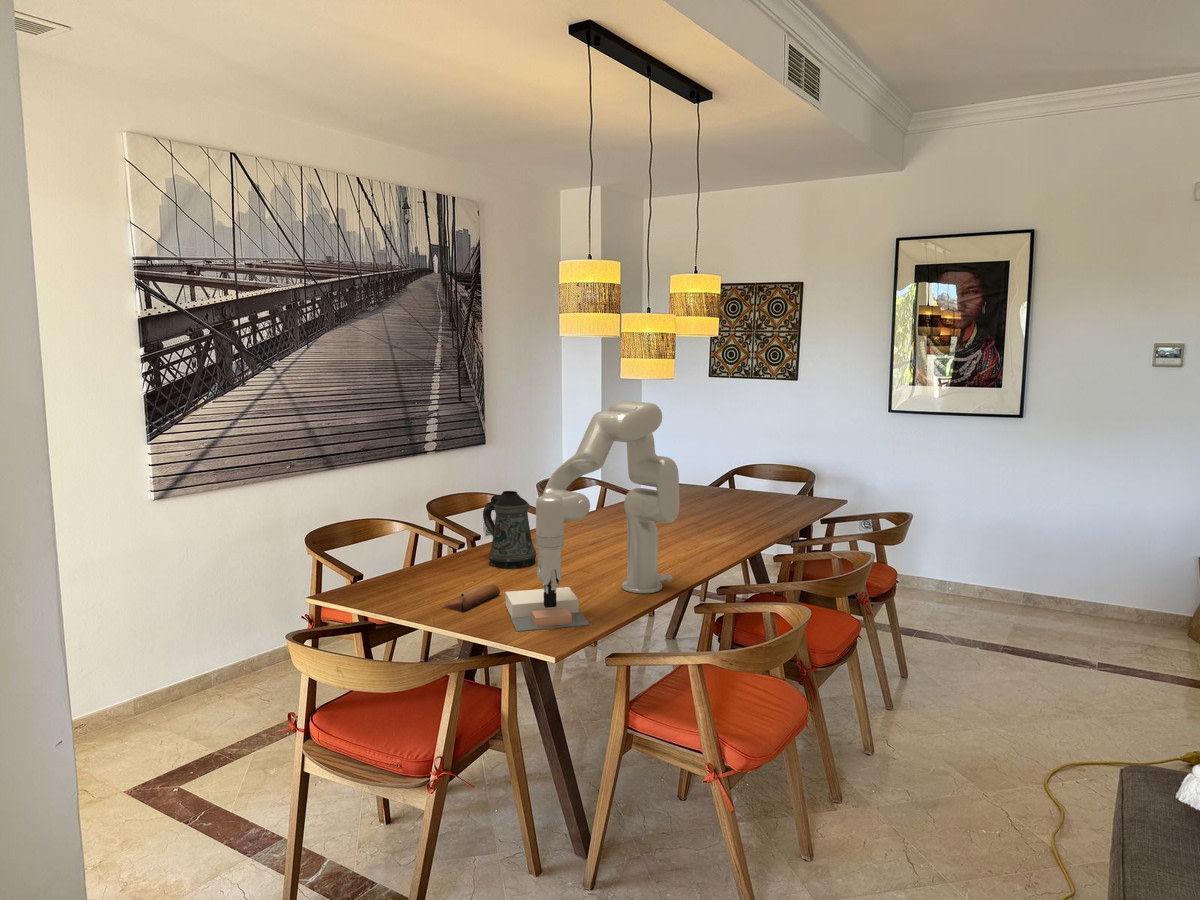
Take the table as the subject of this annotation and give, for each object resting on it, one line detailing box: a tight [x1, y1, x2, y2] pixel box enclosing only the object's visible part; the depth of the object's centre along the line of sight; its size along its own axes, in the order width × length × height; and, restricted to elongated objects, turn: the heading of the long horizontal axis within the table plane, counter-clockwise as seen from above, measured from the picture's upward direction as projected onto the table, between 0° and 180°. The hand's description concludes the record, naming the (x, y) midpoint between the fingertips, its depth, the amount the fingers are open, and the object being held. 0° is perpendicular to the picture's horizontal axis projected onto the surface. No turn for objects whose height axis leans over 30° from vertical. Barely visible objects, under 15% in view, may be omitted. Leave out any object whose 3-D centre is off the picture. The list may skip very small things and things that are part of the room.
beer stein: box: [482, 490, 537, 570], centre depth 281 cm, size 16×19×25 cm
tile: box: [531, 608, 572, 627], centre depth 222 cm, size 10×6×2 cm, turn 106°
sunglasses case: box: [442, 583, 501, 613], centre depth 240 cm, size 18×7×7 cm
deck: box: [505, 586, 580, 618], centre depth 234 cm, size 19×12×4 cm, turn 105°
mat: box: [510, 611, 591, 633], centre depth 223 cm, size 20×10×1 cm, turn 105°
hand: (550, 606), depth 222 cm, fingers closed
